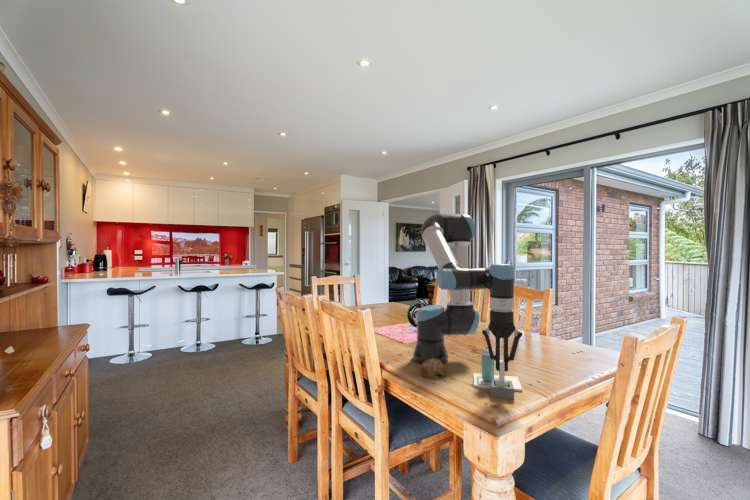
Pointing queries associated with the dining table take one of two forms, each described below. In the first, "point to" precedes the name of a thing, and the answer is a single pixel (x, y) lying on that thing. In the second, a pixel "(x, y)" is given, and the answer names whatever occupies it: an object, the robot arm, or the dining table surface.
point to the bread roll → (433, 369)
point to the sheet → (481, 384)
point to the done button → (501, 383)
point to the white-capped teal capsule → (487, 366)
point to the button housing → (502, 390)
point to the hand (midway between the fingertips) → (501, 380)
